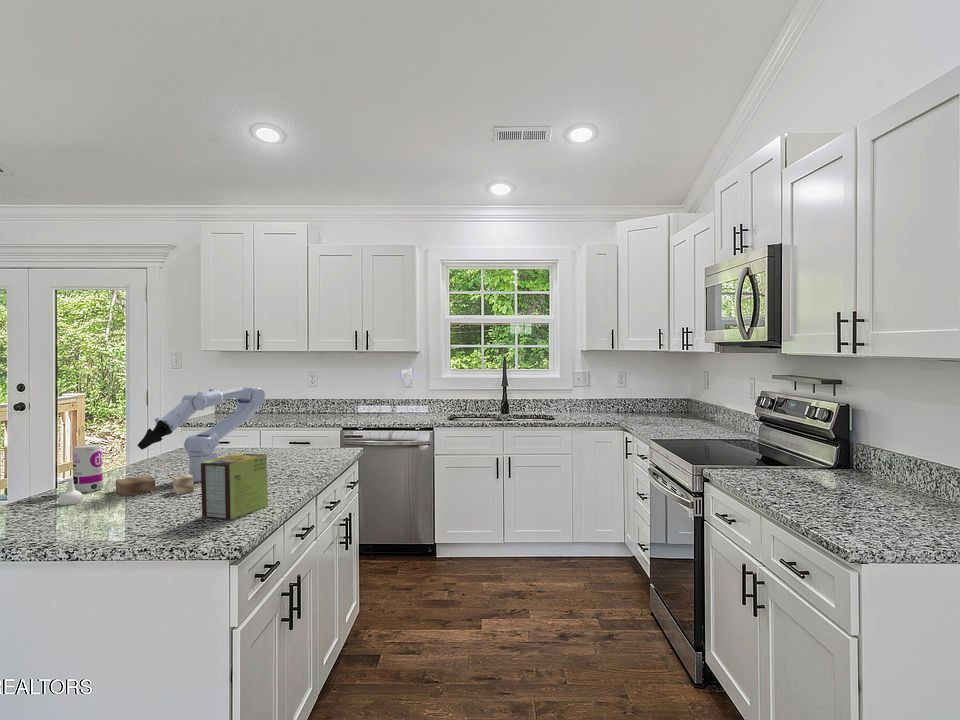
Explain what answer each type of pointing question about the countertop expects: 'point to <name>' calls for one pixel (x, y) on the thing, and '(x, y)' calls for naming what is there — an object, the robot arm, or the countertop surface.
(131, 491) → the walnut block
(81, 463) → the supplement can
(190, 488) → the maple cube
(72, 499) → the garlic bulb
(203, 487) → the protein box
